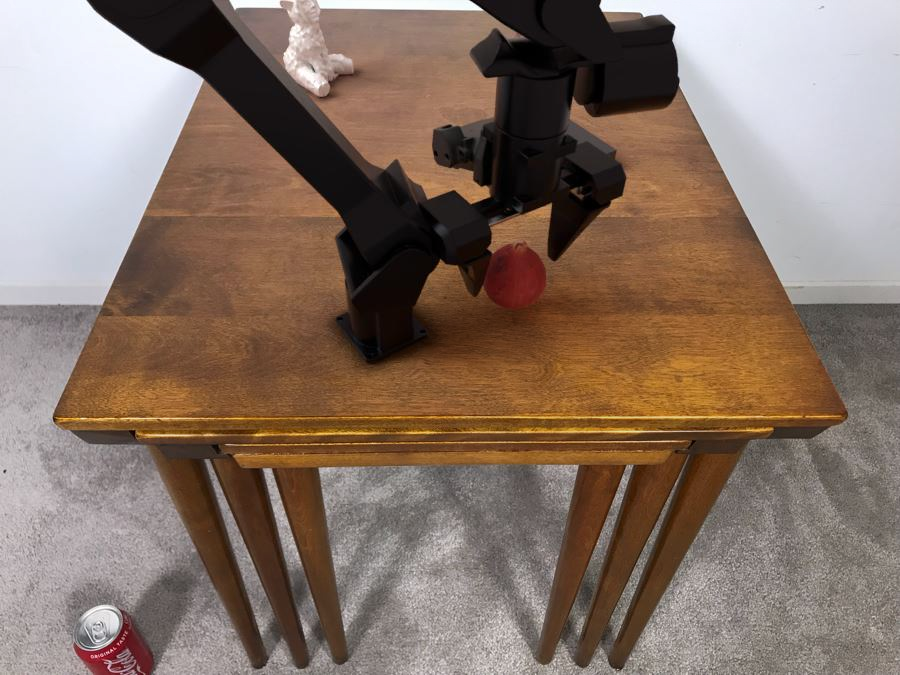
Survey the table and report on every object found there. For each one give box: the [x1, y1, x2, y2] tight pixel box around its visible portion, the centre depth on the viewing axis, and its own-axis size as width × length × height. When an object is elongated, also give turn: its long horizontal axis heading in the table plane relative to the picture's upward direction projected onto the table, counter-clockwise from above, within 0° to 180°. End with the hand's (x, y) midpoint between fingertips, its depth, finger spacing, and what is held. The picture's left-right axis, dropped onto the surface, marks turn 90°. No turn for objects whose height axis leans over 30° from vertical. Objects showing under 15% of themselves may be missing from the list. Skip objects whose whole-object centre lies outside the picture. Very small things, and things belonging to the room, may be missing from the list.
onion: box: [482, 238, 547, 310], centre depth 66 cm, size 6×6×8 cm
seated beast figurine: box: [279, 0, 355, 98], centre depth 96 cm, size 10×9×12 cm
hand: (513, 275), depth 66 cm, fingers open, 9 cm apart
